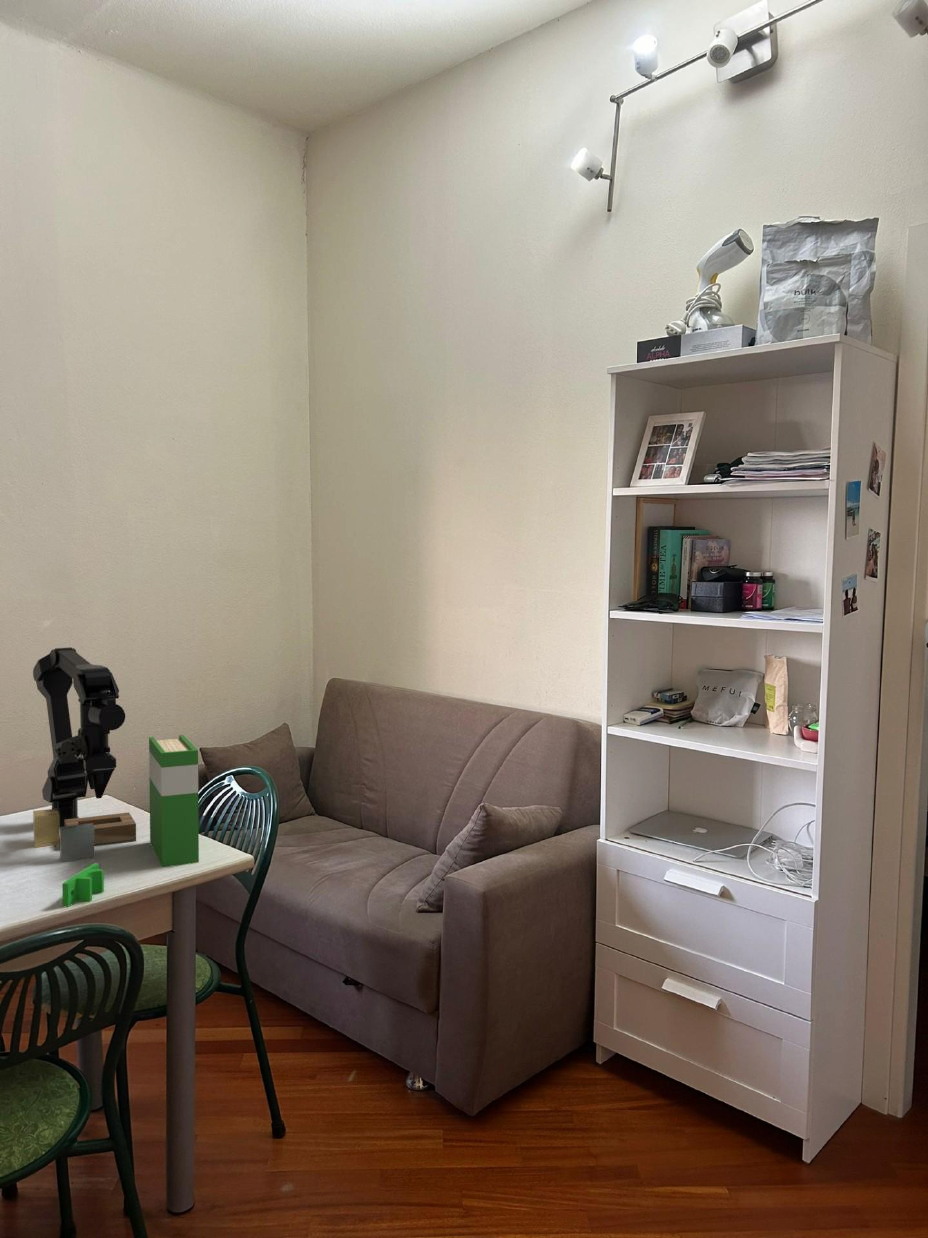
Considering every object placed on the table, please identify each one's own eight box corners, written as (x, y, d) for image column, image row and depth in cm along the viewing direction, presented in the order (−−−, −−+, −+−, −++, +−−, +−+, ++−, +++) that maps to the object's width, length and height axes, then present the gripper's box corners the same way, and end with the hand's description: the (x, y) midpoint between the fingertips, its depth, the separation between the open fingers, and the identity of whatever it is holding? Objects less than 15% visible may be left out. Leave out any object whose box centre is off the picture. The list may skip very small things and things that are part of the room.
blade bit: (60, 859, 198) (59, 827, 197) (93, 855, 201) (92, 823, 200) (61, 862, 196) (61, 830, 195) (94, 858, 199) (94, 826, 198)
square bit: (33, 841, 209) (33, 811, 209) (57, 838, 212) (57, 808, 211) (35, 848, 205) (34, 816, 204) (59, 845, 207) (59, 814, 207)
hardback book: (150, 842, 210) (149, 737, 208) (184, 838, 213) (183, 734, 211) (162, 867, 194) (161, 753, 192) (198, 862, 197) (198, 750, 195)
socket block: (64, 837, 213) (64, 819, 213) (129, 829, 219) (129, 812, 219) (69, 849, 204) (68, 831, 204) (136, 841, 211) (136, 823, 210)
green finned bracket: (81, 909, 172) (81, 884, 171) (62, 908, 172) (62, 883, 172) (111, 886, 183) (111, 864, 182) (93, 885, 183) (93, 863, 183)
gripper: (50, 720, 211) (52, 788, 212) (59, 734, 195) (61, 808, 196) (102, 716, 216) (104, 783, 217) (115, 729, 200) (117, 801, 201)
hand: (95, 793), depth 208 cm, fingers open, 9 cm apart
